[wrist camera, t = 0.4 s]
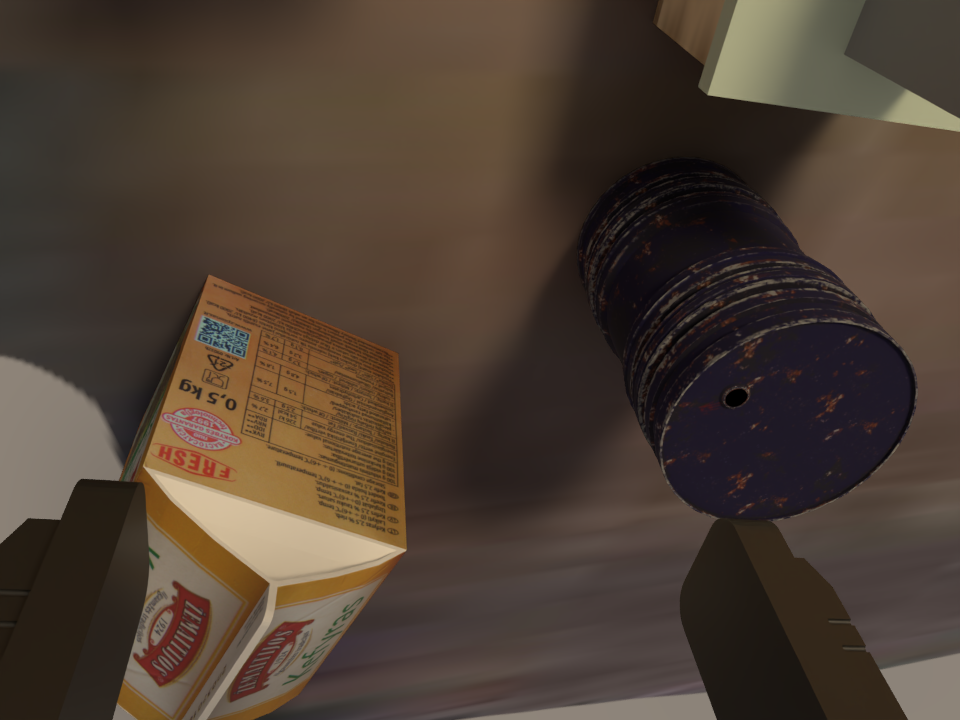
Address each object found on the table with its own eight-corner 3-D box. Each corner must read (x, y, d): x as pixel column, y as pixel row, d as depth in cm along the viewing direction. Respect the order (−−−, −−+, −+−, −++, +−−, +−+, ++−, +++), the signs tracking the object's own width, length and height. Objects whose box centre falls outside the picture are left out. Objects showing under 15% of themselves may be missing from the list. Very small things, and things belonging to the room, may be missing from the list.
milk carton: (208, 274, 40) (105, 575, 25) (398, 353, 44) (411, 655, 29) (140, 423, 45) (17, 754, 29) (316, 482, 49) (290, 802, 33)
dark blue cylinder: (800, 222, 42) (973, 397, 30) (669, 354, 46) (775, 555, 34) (666, 114, 38) (803, 265, 26) (535, 269, 42) (601, 463, 30)
